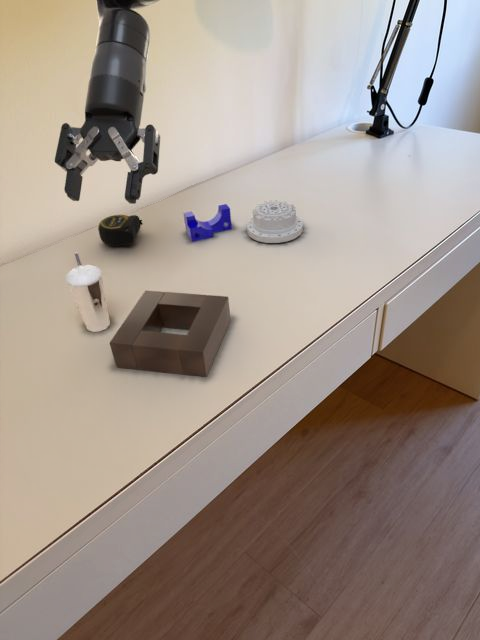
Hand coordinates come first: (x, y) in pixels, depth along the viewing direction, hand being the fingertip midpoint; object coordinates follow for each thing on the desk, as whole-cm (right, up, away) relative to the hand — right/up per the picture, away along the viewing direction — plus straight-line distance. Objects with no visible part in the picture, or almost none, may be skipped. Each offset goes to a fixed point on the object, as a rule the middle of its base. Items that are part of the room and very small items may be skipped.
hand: (101, 200), depth 72 cm
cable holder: (+13, 0, +23) cm, 26 cm away
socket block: (+11, -20, -2) cm, 22 cm away
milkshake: (-1, -17, +2) cm, 17 cm away
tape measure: (-2, -1, +22) cm, 22 cm away
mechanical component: (+24, 0, +22) cm, 33 cm away
